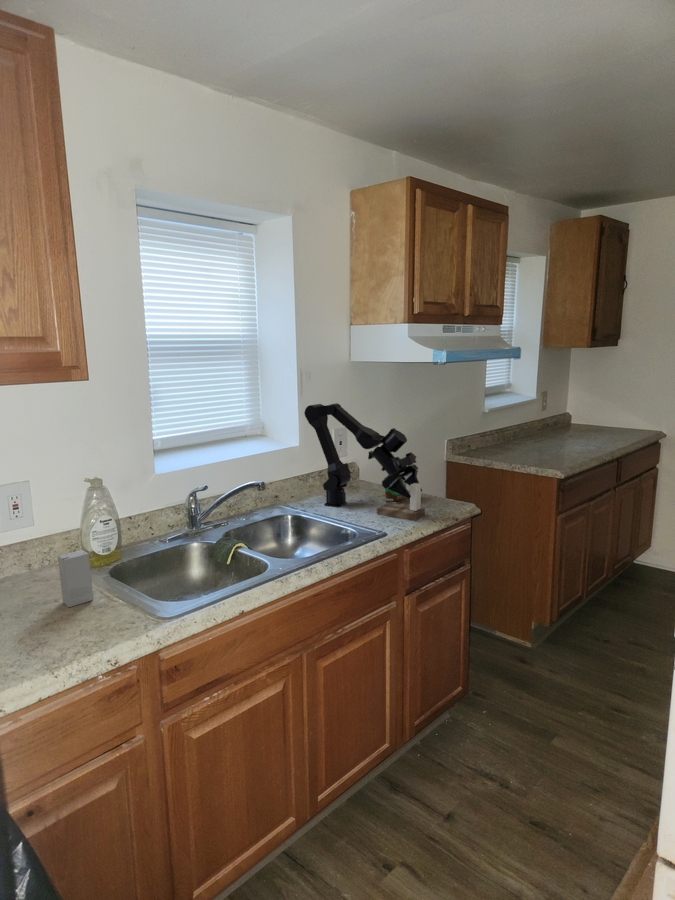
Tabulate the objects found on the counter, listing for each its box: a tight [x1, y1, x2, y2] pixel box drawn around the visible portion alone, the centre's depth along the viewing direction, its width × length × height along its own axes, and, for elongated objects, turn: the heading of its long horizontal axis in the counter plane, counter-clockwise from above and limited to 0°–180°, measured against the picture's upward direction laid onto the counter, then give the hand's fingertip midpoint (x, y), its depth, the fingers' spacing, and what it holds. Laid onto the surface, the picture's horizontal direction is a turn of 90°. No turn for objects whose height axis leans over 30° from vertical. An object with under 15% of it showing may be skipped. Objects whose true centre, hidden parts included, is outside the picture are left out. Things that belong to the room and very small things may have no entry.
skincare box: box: [57, 549, 94, 608], centre depth 142 cm, size 6×4×12 cm
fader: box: [409, 482, 422, 511], centre depth 207 cm, size 2×4×9 cm
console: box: [376, 502, 426, 522], centre depth 211 cm, size 15×8×3 cm, turn 58°
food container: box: [384, 476, 407, 503], centre depth 229 cm, size 12×6×10 cm, turn 143°
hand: (415, 494), depth 207 cm, fingers open, 9 cm apart
